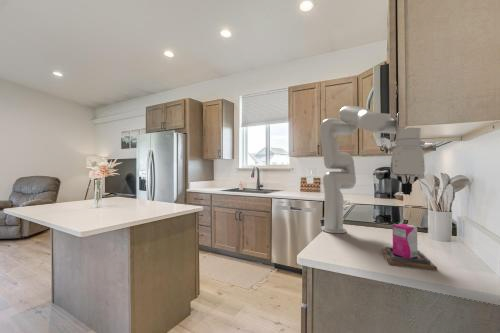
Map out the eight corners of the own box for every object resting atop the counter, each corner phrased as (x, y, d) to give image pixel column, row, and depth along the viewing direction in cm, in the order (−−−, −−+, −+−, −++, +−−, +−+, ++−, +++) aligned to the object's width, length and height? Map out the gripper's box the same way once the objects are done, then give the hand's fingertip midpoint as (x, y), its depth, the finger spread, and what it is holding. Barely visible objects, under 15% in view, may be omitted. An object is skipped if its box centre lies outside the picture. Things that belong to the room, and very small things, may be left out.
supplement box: (402, 252, 92) (403, 223, 92) (418, 258, 87) (418, 226, 87) (391, 254, 90) (392, 224, 90) (406, 260, 85) (407, 228, 85)
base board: (381, 251, 97) (381, 245, 97) (421, 256, 93) (421, 249, 93) (389, 264, 84) (389, 257, 84) (437, 270, 79) (437, 263, 79)
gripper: (427, 145, 89) (426, 194, 90) (382, 145, 94) (381, 192, 94) (436, 143, 82) (434, 196, 83) (387, 144, 87) (385, 194, 87)
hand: (406, 194), depth 88 cm, fingers closed
